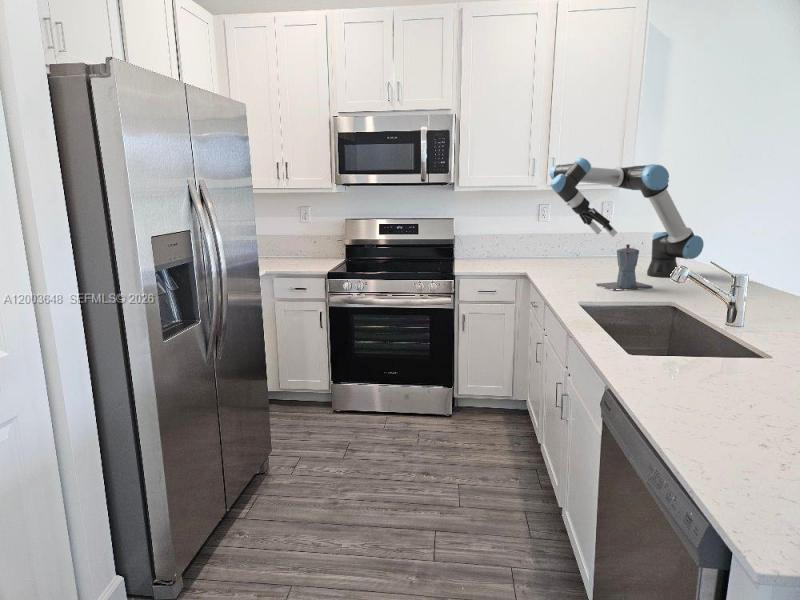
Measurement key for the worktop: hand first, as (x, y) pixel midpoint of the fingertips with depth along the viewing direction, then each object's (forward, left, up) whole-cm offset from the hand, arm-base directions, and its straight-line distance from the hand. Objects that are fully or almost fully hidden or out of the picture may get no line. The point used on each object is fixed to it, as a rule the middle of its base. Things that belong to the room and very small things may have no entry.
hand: (607, 233), depth 245 cm
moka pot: (-8, +4, -25) cm, 27 cm away
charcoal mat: (-10, 0, -26) cm, 28 cm away
